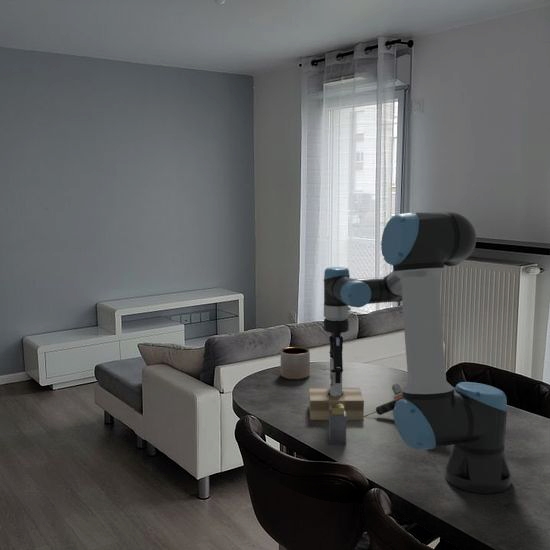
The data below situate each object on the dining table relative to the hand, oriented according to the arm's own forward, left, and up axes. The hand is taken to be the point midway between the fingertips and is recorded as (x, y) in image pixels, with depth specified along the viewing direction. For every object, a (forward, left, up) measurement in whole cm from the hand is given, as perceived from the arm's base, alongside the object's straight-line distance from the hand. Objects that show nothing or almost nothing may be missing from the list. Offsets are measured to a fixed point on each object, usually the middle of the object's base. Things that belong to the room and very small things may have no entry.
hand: (335, 385), depth 199 cm
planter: (+38, +12, -9) cm, 41 cm away
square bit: (-22, +1, -9) cm, 23 cm away
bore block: (0, 0, -9) cm, 9 cm away
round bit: (0, 0, -9) cm, 9 cm away
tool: (-6, -20, -6) cm, 22 cm away
